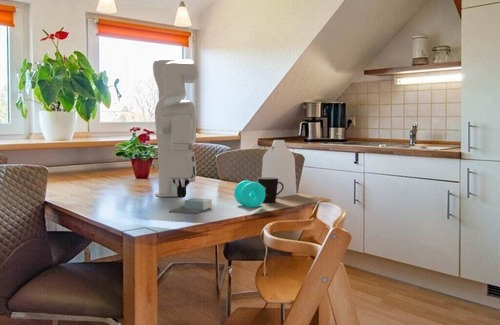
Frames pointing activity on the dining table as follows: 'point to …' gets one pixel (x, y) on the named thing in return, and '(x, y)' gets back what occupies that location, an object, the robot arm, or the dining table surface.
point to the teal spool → (249, 188)
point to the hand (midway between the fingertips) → (181, 197)
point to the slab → (198, 203)
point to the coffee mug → (270, 188)
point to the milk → (280, 167)
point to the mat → (188, 210)
